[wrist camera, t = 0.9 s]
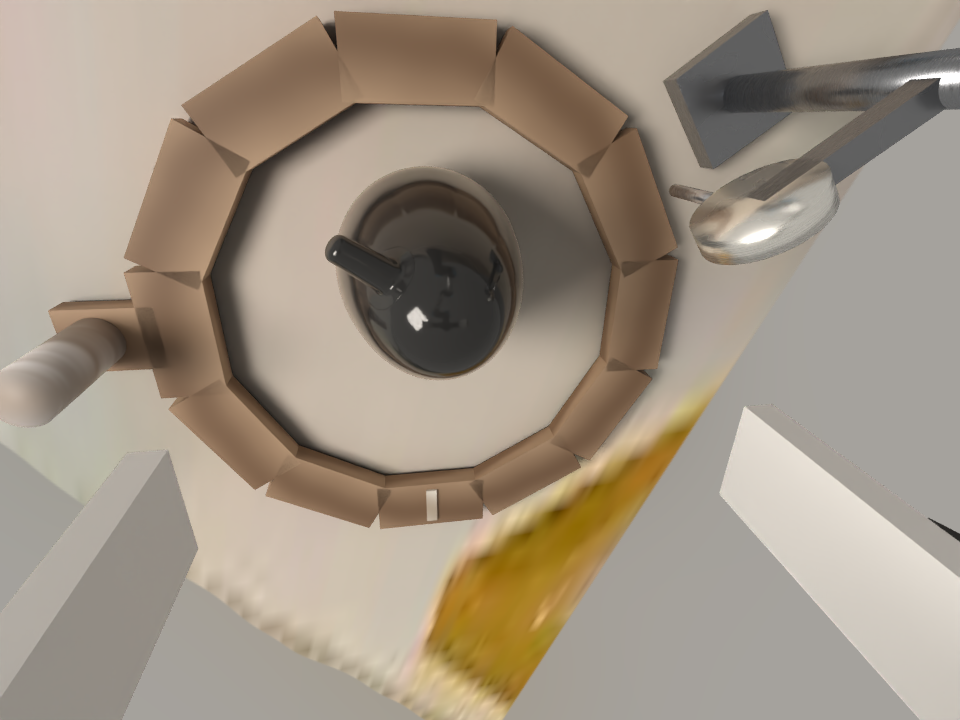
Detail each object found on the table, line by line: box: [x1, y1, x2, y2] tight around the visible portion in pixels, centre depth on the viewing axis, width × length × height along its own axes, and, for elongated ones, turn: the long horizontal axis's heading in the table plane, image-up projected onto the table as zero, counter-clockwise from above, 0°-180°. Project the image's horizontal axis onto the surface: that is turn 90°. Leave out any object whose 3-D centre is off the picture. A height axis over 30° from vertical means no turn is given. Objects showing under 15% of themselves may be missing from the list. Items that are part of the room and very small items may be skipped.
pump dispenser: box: [325, 166, 523, 380], centre depth 25 cm, size 10×10×15 cm
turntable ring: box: [0, 11, 678, 529], centre depth 30 cm, size 34×38×8 cm
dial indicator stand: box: [663, 10, 960, 265], centre depth 24 cm, size 14×6×16 cm, turn 125°
